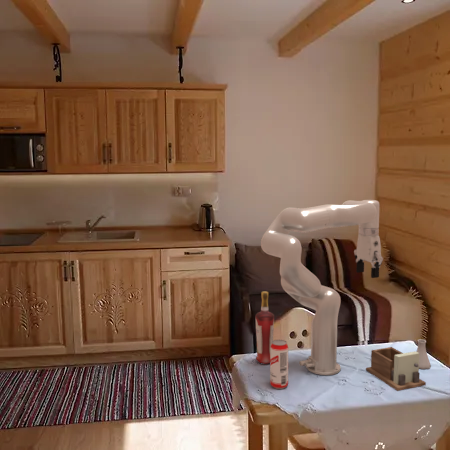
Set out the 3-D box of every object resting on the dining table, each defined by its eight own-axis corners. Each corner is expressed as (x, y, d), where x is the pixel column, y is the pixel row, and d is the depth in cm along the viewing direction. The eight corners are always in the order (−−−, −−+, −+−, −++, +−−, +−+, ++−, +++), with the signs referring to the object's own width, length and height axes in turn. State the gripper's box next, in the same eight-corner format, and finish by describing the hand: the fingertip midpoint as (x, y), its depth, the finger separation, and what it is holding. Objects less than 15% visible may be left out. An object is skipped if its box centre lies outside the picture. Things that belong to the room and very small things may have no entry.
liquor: (254, 358, 203) (254, 290, 199) (272, 357, 203) (272, 289, 200) (256, 366, 196) (256, 295, 192) (275, 365, 196) (275, 294, 192)
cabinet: (397, 390, 174) (398, 368, 173) (365, 370, 191) (366, 349, 190) (425, 385, 178) (426, 363, 177) (392, 365, 195) (393, 345, 194)
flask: (432, 370, 190) (433, 344, 189) (412, 369, 192) (413, 343, 190) (428, 362, 197) (430, 337, 196) (409, 361, 199) (410, 336, 197)
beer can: (276, 391, 175) (276, 346, 172) (266, 384, 180) (266, 340, 178) (291, 387, 177) (292, 343, 175) (281, 380, 183) (281, 337, 181)
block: (398, 385, 176) (399, 357, 174) (393, 382, 178) (394, 354, 177) (419, 381, 179) (421, 354, 178) (414, 378, 182) (415, 351, 180)
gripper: (390, 234, 191) (389, 278, 193) (363, 228, 207) (362, 269, 209) (373, 235, 188) (372, 280, 191) (347, 229, 205) (346, 271, 207)
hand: (367, 274), depth 200 cm, fingers open, 9 cm apart
